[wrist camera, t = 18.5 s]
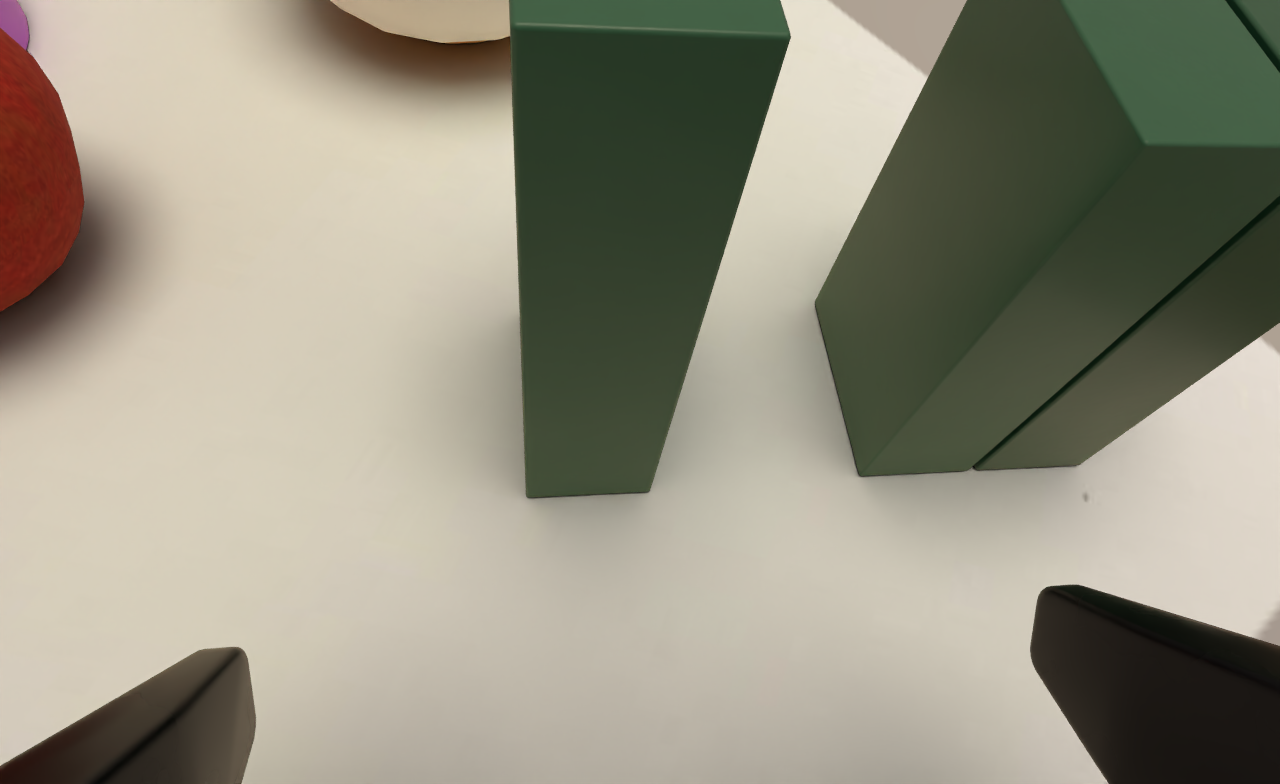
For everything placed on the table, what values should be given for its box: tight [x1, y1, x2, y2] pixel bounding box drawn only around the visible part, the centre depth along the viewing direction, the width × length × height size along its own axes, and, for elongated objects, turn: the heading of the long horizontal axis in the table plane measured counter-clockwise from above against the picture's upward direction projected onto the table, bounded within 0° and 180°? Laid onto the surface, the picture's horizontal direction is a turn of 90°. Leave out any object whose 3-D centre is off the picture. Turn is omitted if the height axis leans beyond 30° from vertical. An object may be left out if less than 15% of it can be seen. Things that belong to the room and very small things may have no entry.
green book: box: [509, 0, 791, 497], centre depth 15 cm, size 6×3×12 cm, turn 6°
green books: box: [815, 0, 1280, 476], centre depth 17 cm, size 6×6×11 cm
